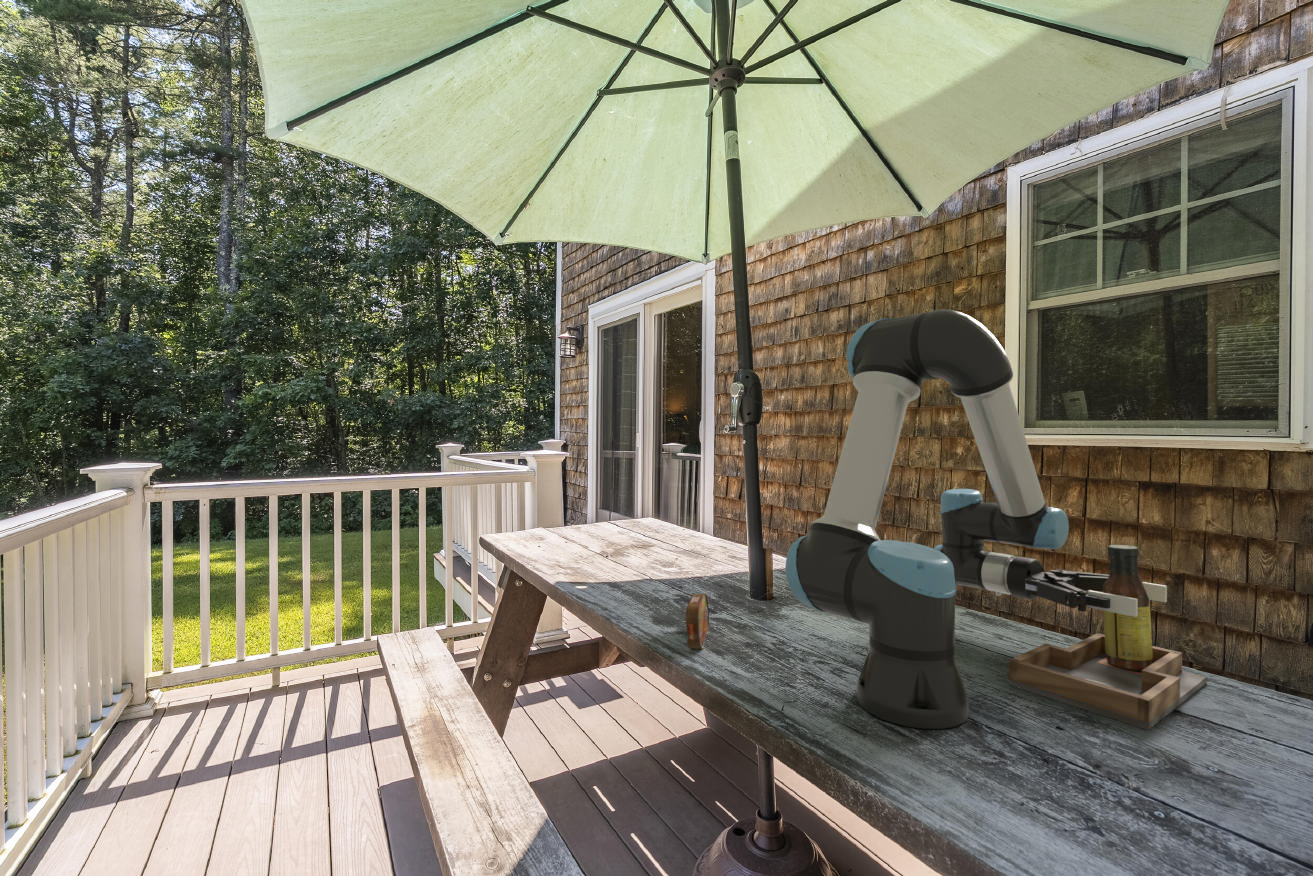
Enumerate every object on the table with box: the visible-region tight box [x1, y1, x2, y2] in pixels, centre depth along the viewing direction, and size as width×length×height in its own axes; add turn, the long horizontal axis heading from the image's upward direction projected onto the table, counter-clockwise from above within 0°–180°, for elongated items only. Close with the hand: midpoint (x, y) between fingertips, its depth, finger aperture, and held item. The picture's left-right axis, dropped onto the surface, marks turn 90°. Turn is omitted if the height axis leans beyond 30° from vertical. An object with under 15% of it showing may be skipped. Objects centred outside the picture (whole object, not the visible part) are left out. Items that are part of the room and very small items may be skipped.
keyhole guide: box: [1008, 632, 1208, 731], centre depth 97 cm, size 26×18×4 cm
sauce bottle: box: [1102, 544, 1153, 671], centre depth 102 cm, size 6×6×20 cm
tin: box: [685, 592, 710, 650], centre depth 118 cm, size 15×3×8 cm, turn 168°
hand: (1152, 600), depth 99 cm, fingers open, 13 cm apart
